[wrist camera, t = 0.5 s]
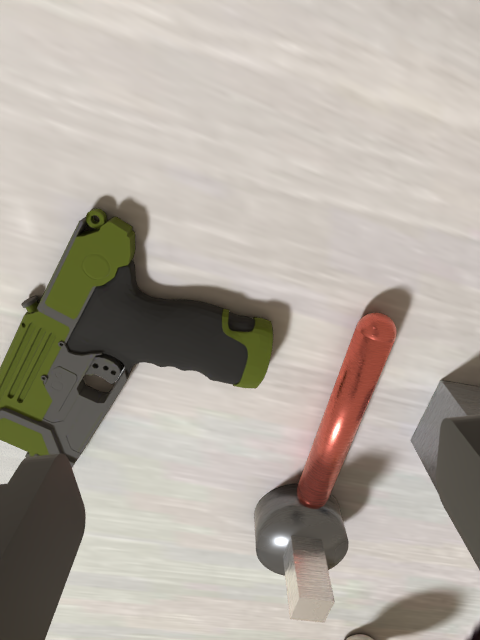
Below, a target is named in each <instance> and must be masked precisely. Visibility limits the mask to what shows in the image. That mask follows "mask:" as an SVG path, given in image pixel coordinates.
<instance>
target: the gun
mask: <svg viewBox="0 0 480 640" xmlns="http://www.w3.org/2000/svg"><path fill="white" fill-rule="evenodd" d="M94 215H96V216H98V217H99V219H100V221H99V222H97V221H95V220H94V218H93V217H94ZM106 221H107V216H106V214H105V212H104V211H102V210H101V209H97V208H96V209H92V210H91V211H90V212H88V213H87V215H86V217H85V218H83V219H82V220H81V221H79V223H78V225H77V227H76V229H75V231H74V233H73V235H72V237H71V239H70V241H69V243H68V245H67V247H66V249H65V252H64V254H63V256H62V258H61V260H60V262H59V264H58V266H57V268H56V270H55V272H54V274H53V276H52V278H51V280H50V282H49V284H48V286H47V288H46V290H45V292H44V294H43V296H42V298H41V301H40V303H38V302H37V300H38V298H37V297H36V296H33V297H31V298H29V299H27V300H25V301H24V302H23V303H22V304H21V305H22V306H23V308H26V309H27V311H28V312H26V314H25V315H24V317H23V319H22V321H21V324H20V326H19V328H18V330H17V332H16V334H15V337H14V339H13V341H12V343H11V345H10V348H9V350H8V352H7V354H6V356H5V358H4V361H3V363H2V365H1V367H0V440H2V441H4V442H7V443H9V444H11V445H13V446H16V447H18V448H20V449H23V450H25V451H27V454H26V456H25V457H31V456H42V455H52V454H65V455H66V456H67V457H68V459H69V462H70V465H71V468H72V467H73V465H74V464H75V462H76V461H77V459H78V458H79V456H80V455H81V453H82V451H83V450H84V448H85V446H86V445H87V443H88V442H89V440H90V438H91V437H92V435H93V434H94V432H95V431H96V429H97V427H98V426H99V424H100V423H101V421H102V419H103V418H104V416H105V415H106V413H107V412H108V410H109V408H110V407H111V405H112V404H113V402H114V400H115V399H116V397H117V395H118V394H119V392H120V391H121V389H122V387H123V386H124V384H125V383H126V381H127V379H128V376H129V374H130V372H131V369H132V367H133V365H135V364H136V363H139V362H147V363H152V364H155V365H157V366H159V367H166V366H172V367H176V368H178V369H180V370H184V371H186V370H193V371H198V372H200V373H202V374H204V375H205V376H207V377H208V378H209V379H210V380H213V381H219V382H223V383H228V384H233V386H237V387H242V388H257V387H258V386H259V384H260V383H261V382H262V380H263V379H264V377H265V374H266V372H267V369H268V365H269V361H270V357H271V352H272V343H273V329H272V323H271V321H269V320H266V319H263V318H257V317H254V318H253V319H252V318H249V317H244V316H238V315H235V314H233V313H231V312H229V310H228V309H223V308H220V307H217V306H214V305H211V304H208V303H204V302H198V301H190V300H166V299H159V298H153V297H150V296H148V295H146V294H144V293H142V292H141V291H140V290H139V288H138V287H137V284H136V279H135V265H134V262H133V260H132V259H133V256H134V253H135V232H134V231H132V228H133V227H132V226H131V225H129V224H127V223H126V222H124V221H123V220H121V219H119V218H118V217H116V216H115V217H113V218H112V219H110V220H108V221H107V222H106ZM87 224H88V225H89V226H90V227H92V228H95V229H94V230H90V231H84V230H85V227H86V225H87ZM103 353H105V354H103ZM112 356H113V357H112ZM114 357H115V358H114ZM117 359H118V360H120V361H121V362H123V364H124V366H125V369H124V371H123V372H122V374H121V375H120V373H121V371H122V365H121V363H120V362H119V361H118V360H117ZM93 374H96V375H97V376H101V378H103V379H104V378H105V379H106V380H105V381H107V382H109V383H110V384H113V383H114V382H115V381H116V380H117V379H118V380H117V382H116V383H115V385H114V386H113V388H112V389H111V391H110V392H109V393H102V392H99V391H97V390H95V389H93V388H91V387H89V386H87V385H85V383H84V381H83V379H82V378H83V377H84V375H89V376H91V375H93ZM119 375H120V377H119ZM118 377H119V378H118Z"/></svg>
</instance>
